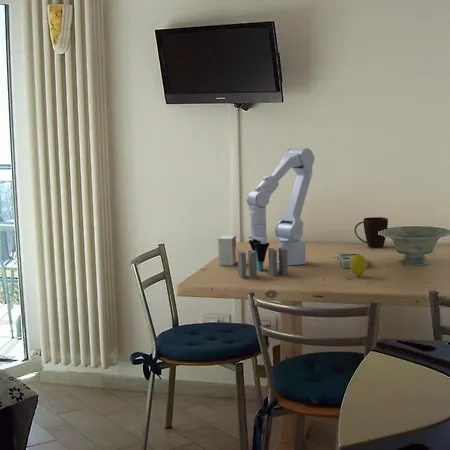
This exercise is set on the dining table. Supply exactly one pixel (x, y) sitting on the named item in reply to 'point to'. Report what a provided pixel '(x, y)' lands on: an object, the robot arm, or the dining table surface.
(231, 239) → the small box
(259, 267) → the teal domino
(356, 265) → the lemon
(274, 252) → the domino
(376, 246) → the cup
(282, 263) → the domino
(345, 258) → the handheld gaming console
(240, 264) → the domino
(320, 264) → the dining table surface
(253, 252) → the domino
